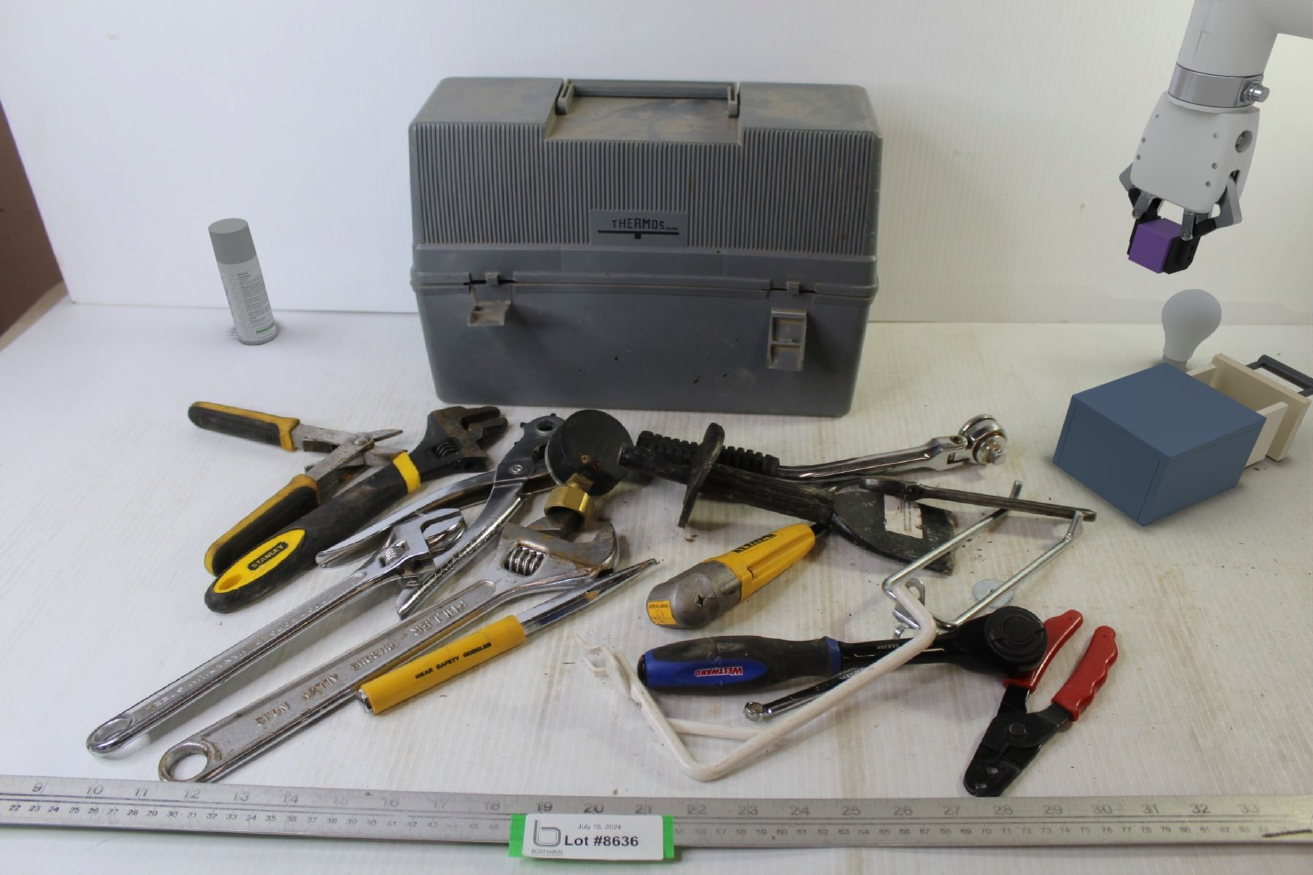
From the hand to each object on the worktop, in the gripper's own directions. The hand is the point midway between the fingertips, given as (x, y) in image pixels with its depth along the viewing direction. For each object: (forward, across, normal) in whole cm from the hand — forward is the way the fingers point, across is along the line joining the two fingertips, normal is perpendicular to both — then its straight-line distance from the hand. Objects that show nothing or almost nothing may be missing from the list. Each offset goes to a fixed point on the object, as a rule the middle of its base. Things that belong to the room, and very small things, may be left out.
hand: (1157, 260), depth 103 cm
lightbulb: (+17, 0, -9) cm, 20 cm away
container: (+16, +59, +87) cm, 106 cm away
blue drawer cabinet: (+17, -13, +10) cm, 24 cm away
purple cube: (0, 0, 0) cm, 0 cm away
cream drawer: (+16, -13, -1) cm, 21 cm away
